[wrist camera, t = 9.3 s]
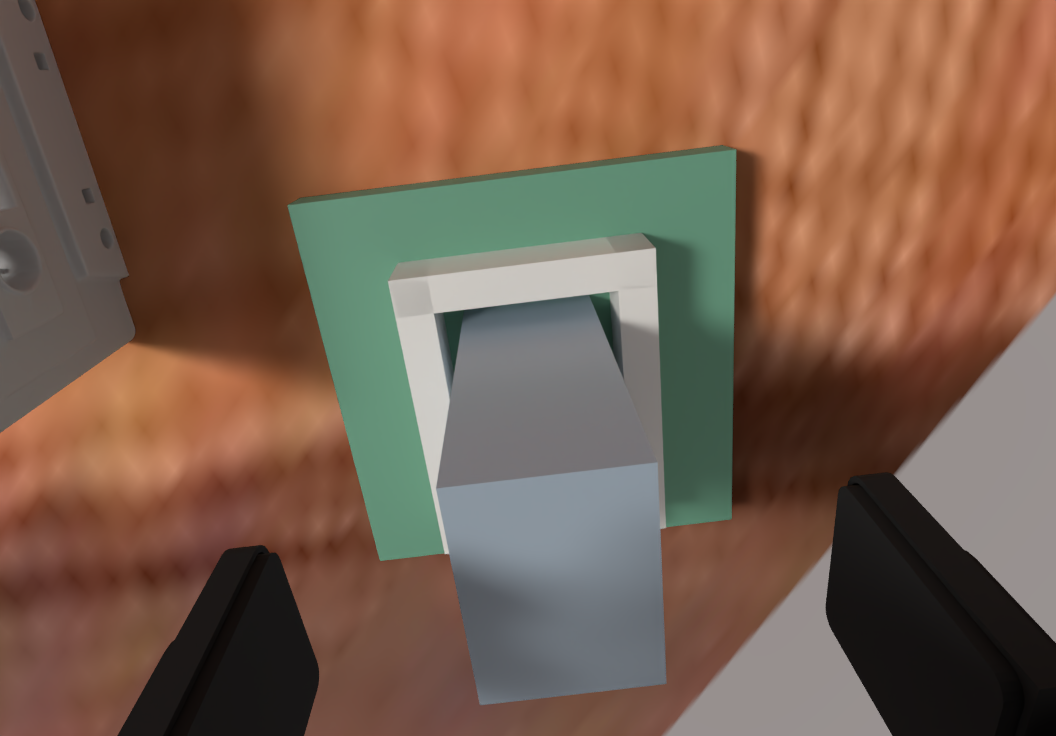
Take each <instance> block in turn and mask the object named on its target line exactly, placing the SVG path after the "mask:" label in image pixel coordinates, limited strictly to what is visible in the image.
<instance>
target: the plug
mask: <svg viewBox="0 0 1056 736" xmlns="http://www.w3.org/2000/svg"><path fill="white" fill-rule="evenodd" d="M436 491H437V496H438V501H439V506H440V511H441V516H442V521H443V525H444V530H445V535H446V540H447V545H448V550H449V555H450V560H451V565H452V570H453V574H454V579H455V584H456V589H457V594H458V599H459V604H460V609H461V614H462V619H463V623H464V628H465V633H466V638H467V643H468V648H469V653H470V658H471V663H472V667H473V672H474V677H475V682H476V687H477V692H478V697H479V702H480V705H486V704H495V703H503V702H512V701H521V700H529V699H538V698H547V697H556V696H564V695H573V694H582V693H591V692H599V691H608V690H617V689H625V688H634V687H643V686H652V685H660V684H666V662H665V637H664V612H663V587H662V562H661V537H660V512H659V486H658V462H657V460H656V457H655V455H654V452H653V450H652V448H651V445H650V443H649V440H648V438H647V435H646V433H645V431H644V428H643V426H642V423H641V421H640V418H639V416H638V413H637V411H636V409H635V406H634V404H633V401H632V399H631V396H630V394H629V391H628V389H627V387H626V384H625V382H624V379H623V377H622V374H621V372H620V370H619V367H618V365H617V362H616V360H615V357H614V355H613V352H612V350H611V348H610V345H609V343H608V340H607V338H606V335H605V333H604V330H603V328H602V326H601V323H600V321H599V318H598V316H597V313H596V311H595V309H594V306H593V304H592V301H591V299H590V296H589V295H582V296H574V297H565V298H557V299H549V300H541V301H532V302H524V303H516V304H508V305H499V306H491V307H483V308H475V309H467V310H464V314H463V320H462V327H461V333H460V339H459V346H458V352H457V358H456V365H455V371H454V377H453V384H452V390H451V396H450V403H449V409H448V415H447V422H446V428H445V435H444V441H443V447H442V454H441V460H440V466H439V473H438V479H437V485H436Z"/></svg>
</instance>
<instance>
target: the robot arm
mask: <svg viewBox="0 0 1056 736" xmlns="http://www.w3.org/2000/svg"><path fill="white" fill-rule="evenodd" d="M828 581H829V582H828V589H827V598H826V615H827V619H828V622H829V625H830V627H831V630H832V632H833V633H834V635H835V637H836V638H837V640H838V642H839V644H840V645H841V647H842V649H843V651H844V652H845V654H846V655H847V657H848V659H849V661H850V663H851V665H852V666H853V668H854V670H855V671H856V673H857V675H858V677H859V678H860V680H861V682H862V684H863V685H864V687H865V689H866V691H867V692H868V694H869V696H870V697H871V699H872V701H873V702H874V704H875V706H876V708H877V710H878V711H879V713H880V715H881V716H882V718H883V720H884V722H885V724H886V725H887V727H888V729H889V730H890V732H891V734H892V736H1056V643H1055V642H1054V641H1053V640H1052V639H1051V638H1050V637H1049V635H1048V634H1047V633H1045V631H1044V630H1043V629H1042V628H1041V627H1040V626H1039V625H1038V624H1037V623H1036V622H1035V621H1034V620H1033V619H1032V617H1031V616H1030V615H1029V614H1028V613H1027V612H1026V611H1025V610H1024V609H1023V608H1022V607H1021V606H1020V605H1019V604H1018V603H1017V602H1016V600H1015V599H1014V598H1013V597H1012V596H1011V595H1010V594H1009V593H1008V592H1007V591H1006V590H1005V589H1004V588H1003V587H1002V586H1001V585H1000V584H999V582H998V581H996V579H995V578H994V577H993V576H992V575H991V574H990V573H989V572H988V571H987V570H986V569H985V568H984V567H983V565H982V564H980V562H979V561H978V560H977V559H976V558H975V557H973V556H972V555H971V554H970V553H969V552H967V551H965V550H963V549H962V547H961V546H960V545H959V544H958V543H957V542H956V541H955V540H954V539H953V538H952V537H951V536H950V535H949V534H948V533H947V531H945V529H944V528H943V527H942V526H941V525H940V524H939V523H938V522H937V521H936V520H935V519H934V518H933V517H932V516H931V514H930V513H929V512H928V511H927V510H926V509H925V508H924V507H923V506H922V505H921V504H920V503H919V502H918V500H917V499H916V498H915V497H914V496H913V495H912V494H911V493H910V492H909V491H908V490H907V489H906V488H905V487H904V486H903V484H902V483H901V482H900V481H899V480H898V479H897V478H896V477H895V476H894V475H892V474H891V473H887V472H885V473H877V474H868V475H860V476H853V477H851V478H850V480H849V481H848V486H843V487H841V488H840V489H839V493H838V500H837V509H836V518H835V527H834V536H833V545H832V554H831V564H830V572H829V580H828ZM318 683H319V668H318V663H317V660H316V658H315V655H314V652H313V649H312V646H311V644H310V641H309V638H308V635H307V633H306V630H305V627H304V624H303V621H302V619H301V616H300V613H299V610H298V608H297V605H296V602H295V599H294V596H293V594H292V591H291V588H290V585H289V583H288V580H287V577H286V574H285V571H284V569H283V566H282V563H281V560H280V558H279V556H278V555H277V554H276V553H269V552H268V550H267V548H266V547H265V546H262V545H258V546H250V547H241V548H233V549H228V550H226V551H225V552H224V553H223V554H222V556H221V558H220V560H219V561H218V563H217V565H216V567H215V569H214V570H213V572H212V574H211V576H210V578H209V579H208V581H207V583H206V585H205V587H204V588H203V590H202V592H201V594H200V596H199V597H198V599H197V601H196V603H195V605H194V606H193V608H192V610H191V612H190V614H189V615H188V617H187V619H186V621H185V623H184V624H183V626H182V628H181V630H180V632H179V633H178V635H177V637H176V639H175V640H174V641H173V642H171V644H170V645H169V647H168V648H167V649H166V651H165V652H164V654H163V656H162V658H161V659H160V661H159V663H158V665H157V666H156V668H155V670H154V672H153V674H152V675H151V677H150V679H149V681H148V682H147V684H146V686H145V688H144V690H143V691H142V693H141V695H140V697H139V698H138V700H137V702H136V704H135V706H134V707H133V709H132V711H131V713H130V715H129V716H128V718H127V720H126V722H125V723H124V725H123V727H122V729H121V731H120V732H119V734H118V736H304V734H305V730H306V727H307V723H308V720H309V716H310V713H311V709H312V706H313V702H314V699H315V695H316V692H317V688H318Z"/></svg>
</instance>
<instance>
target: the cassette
mask: <svg viewBox="0 0 1056 736" xmlns="http://www.w3.org/2000/svg"><path fill="white" fill-rule="evenodd" d="M128 276H129V274H128V271H127V268H126V265H125V262H124V259H123V256H122V253H121V250H120V247H119V244H118V242H117V239H116V236H115V233H114V230H113V227H112V224H111V221H110V218H109V215H108V212H107V209H106V206H105V204H104V201H103V198H102V195H101V192H100V189H99V186H98V183H97V180H96V177H95V174H94V171H93V168H92V166H91V163H90V160H89V157H88V154H87V151H86V148H85V145H84V142H83V139H82V136H81V133H80V130H79V128H78V125H77V122H76V119H75V116H74V113H73V110H72V107H71V104H70V101H69V98H68V95H67V92H66V90H65V87H64V84H63V81H62V78H61V75H60V72H59V69H58V66H57V63H56V60H55V57H54V54H53V52H52V49H51V46H50V43H49V40H48V37H47V34H46V31H45V28H44V25H43V22H42V19H41V16H40V14H39V11H38V8H37V5H36V2H35V0H0V433H1V432H2V431H3V430H5V429H6V428H8V427H9V426H10V425H12V424H13V423H15V422H16V421H18V420H19V419H20V418H22V417H23V416H25V415H26V414H27V413H29V412H30V411H32V410H33V409H35V408H36V407H37V406H39V405H40V404H42V403H43V402H44V401H46V400H47V399H49V398H50V397H52V396H53V395H54V394H56V393H57V392H59V391H60V390H61V389H63V388H64V387H66V386H67V385H69V384H70V383H71V382H73V381H74V380H76V379H77V378H78V377H80V376H81V375H83V374H84V373H85V372H87V371H88V370H90V369H91V368H93V367H94V366H95V365H97V364H98V363H100V362H101V361H102V360H104V359H105V358H107V357H108V356H110V355H111V354H112V353H114V352H115V351H117V350H118V349H119V348H121V347H122V346H124V345H125V344H127V343H128V342H129V341H131V340H132V339H133V338H134V336H135V326H134V324H133V321H132V318H131V315H130V312H129V309H128V306H127V304H126V301H125V298H124V295H123V292H122V289H121V285H120V279H122V278H125V277H128Z"/></svg>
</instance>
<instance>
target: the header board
mask: <svg viewBox="0 0 1056 736" xmlns="http://www.w3.org/2000/svg"><path fill="white" fill-rule="evenodd" d="M287 206H288V210H289V214H290V217H291V221H292V225H293V229H294V233H295V237H296V240H297V244H298V248H299V252H300V256H301V260H302V263H303V267H304V271H305V275H306V279H307V283H308V286H309V290H310V294H311V298H312V302H313V306H314V309H315V313H316V317H317V321H318V325H319V329H320V332H321V336H322V340H323V344H324V348H325V352H326V355H327V359H328V363H329V367H330V371H331V375H332V378H333V382H334V386H335V390H336V394H337V398H338V401H339V405H340V409H341V413H342V417H343V421H344V424H345V428H346V432H347V436H348V440H349V444H350V447H351V451H352V455H353V459H354V463H355V467H356V470H357V474H358V478H359V482H360V486H361V490H362V493H363V497H364V501H365V505H366V509H367V513H368V516H369V520H370V524H371V528H372V532H373V536H374V539H375V543H376V547H377V551H378V555H379V559H380V561H383V560H391V559H400V558H408V557H417V556H425V555H434V554H442V553H445V554H449V550H448V545H447V540H446V535H445V530H444V525H443V521H442V516H441V511H440V506H439V501H438V496H437V491H436V485H437V479H438V473H439V466H440V460H441V454H442V447H443V441H444V435H445V428H446V422H447V415H448V409H449V403H450V396H451V390H452V384H453V377H454V371H455V365H456V358H457V352H458V346H459V339H460V333H461V327H462V320H463V314H464V310H467V309H475V308H483V307H491V306H499V305H508V304H516V303H524V302H532V301H541V300H549V299H557V298H565V297H574V296H582V295H589V296H590V299H591V301H592V304H593V306H594V309H595V311H596V313H597V316H598V318H599V321H600V323H601V326H602V328H603V330H604V333H605V335H606V338H607V340H608V343H609V345H610V348H611V350H612V352H613V355H614V357H615V360H616V362H617V365H618V367H619V370H620V372H621V374H622V377H623V379H624V382H625V384H626V387H627V389H628V391H629V394H630V396H631V399H632V401H633V404H634V406H635V409H636V411H637V413H638V416H639V418H640V421H641V423H642V426H643V428H644V431H645V433H646V435H647V438H648V440H649V443H650V445H651V448H652V450H653V452H654V455H655V457H656V460H657V462H658V486H659V512H660V529H663V528H666V527H670V526H679V525H687V524H696V523H704V522H713V521H721V520H730V519H732V442H733V365H734V287H735V210H736V149H733V148H730V147H726V146H723V145H720V146H712V147H704V148H696V149H688V150H680V151H672V152H664V153H656V154H648V155H640V156H632V157H624V158H616V159H608V160H600V161H592V162H584V163H576V164H568V165H560V166H552V167H544V168H536V169H528V170H520V171H512V172H504V173H496V174H488V175H480V176H472V177H464V178H456V179H448V180H440V181H432V182H424V183H416V184H407V185H399V186H391V187H383V188H375V189H367V190H359V191H351V192H343V193H335V194H327V195H319V196H311V197H303V198H299V199H297V200H296V201H294V202H292V203H291V204H289V205H287Z"/></svg>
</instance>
